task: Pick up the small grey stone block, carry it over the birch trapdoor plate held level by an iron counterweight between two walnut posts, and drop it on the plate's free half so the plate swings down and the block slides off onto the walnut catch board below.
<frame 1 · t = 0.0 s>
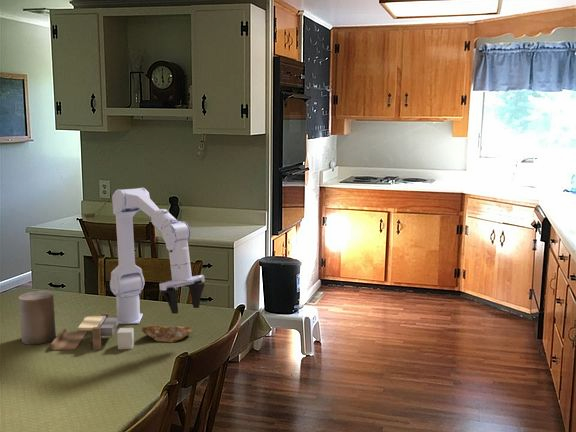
hand: (185, 310, 184), 11 cm above the table, tool pointing down, fingers open, 7 cm apart
pillar candle: (38, 339, 190), on the table
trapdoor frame: (101, 340, 189), on the table
decorative stone: (167, 338, 192), on the table
trapdoor: (98, 325, 188), point 5 cm above the table, hinge at 0.0°
stone block: (125, 338, 184), point 2 cm above the table
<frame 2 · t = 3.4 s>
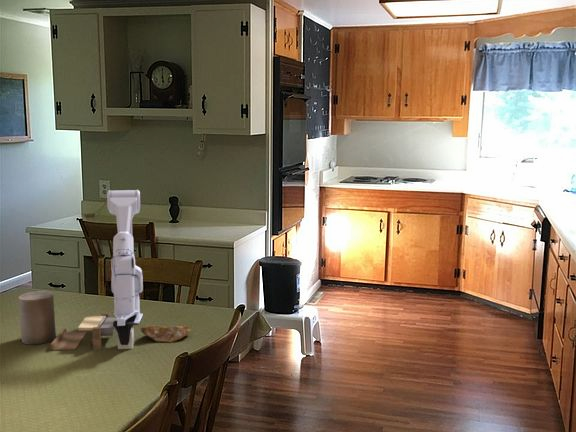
hand: (125, 341, 184), 1 cm above the table, tool pointing down, fingers closed on stone block, 4 cm apart
stone block: (125, 338, 184), point 2 cm above the table, touching gripper
everything else where it was.
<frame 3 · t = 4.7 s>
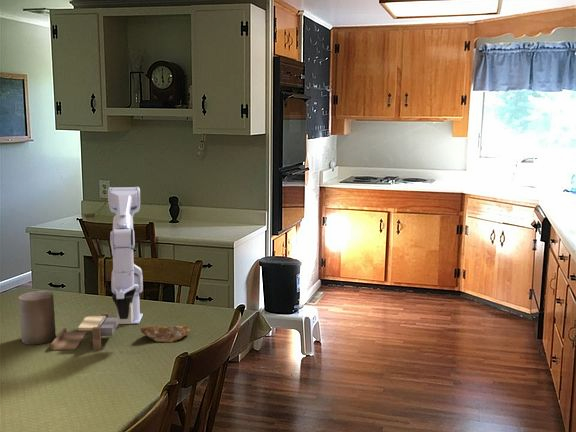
hand: (125, 316, 183), 9 cm above the table, tool pointing down, fingers closed on stone block, 4 cm apart
stone block: (125, 313, 183), point 10 cm above the table, touching gripper
everything else where it was.
when the fingers open (9 cm above the table, at t = 6.5 s): stone block drops 5 cm and tips over, resting on trapdoor.
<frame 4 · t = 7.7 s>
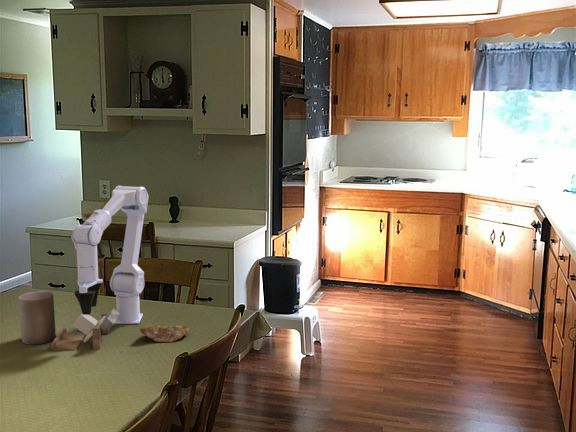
hand: (89, 310, 187), 9 cm above the table, tool pointing down, fingers open, 7 cm apart
trapdoor: (101, 326, 188), point 4 cm above the table, hinge at -44.5°, touching stone block
stone block: (85, 323, 188), point 5 cm above the table, tilted 51°, touching trapdoor
everything else where it was.
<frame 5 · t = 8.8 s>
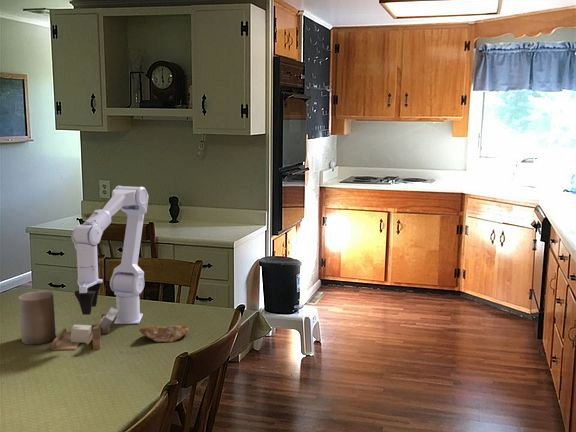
hand: (89, 310, 187), 9 cm above the table, tool pointing down, fingers open, 7 cm apart
trapdoor: (102, 326, 188), point 4 cm above the table, hinge at -55.6°, touching stone block
stone block: (81, 333, 188), point 2 cm above the table, tilted 86°, touching trapdoor, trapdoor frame
everything else where it was.
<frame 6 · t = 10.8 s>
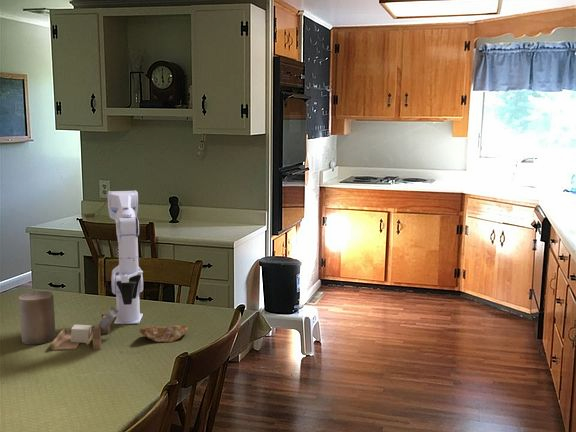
hand: (130, 301, 193), 10 cm above the table, tool pointing down, fingers open, 7 cm apart
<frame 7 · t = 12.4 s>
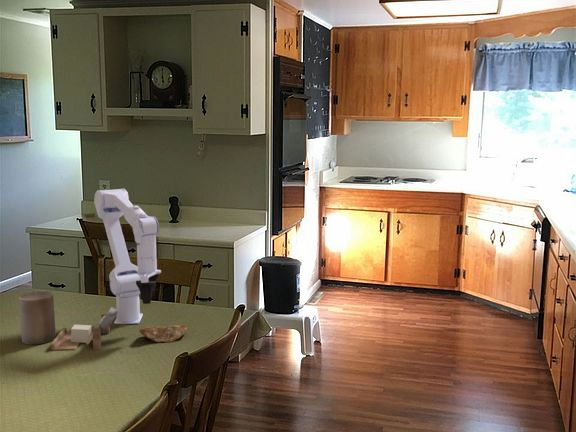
hand: (148, 300, 194), 10 cm above the table, tool pointing down, fingers open, 7 cm apart
at the end: stone block point 2.3 cm above the table; stone block inside the target area (1.0 cm from its centre), point 2.3 cm above the table; the gripper is holding nothing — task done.
